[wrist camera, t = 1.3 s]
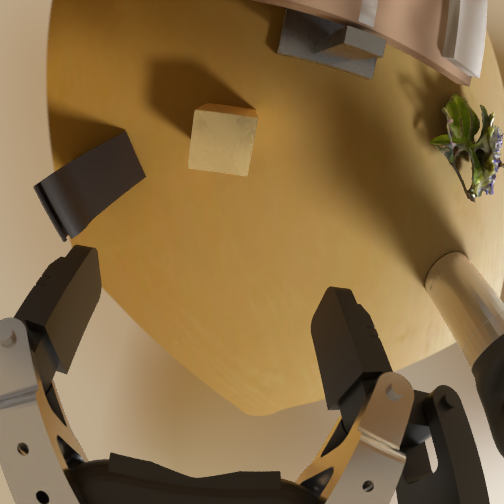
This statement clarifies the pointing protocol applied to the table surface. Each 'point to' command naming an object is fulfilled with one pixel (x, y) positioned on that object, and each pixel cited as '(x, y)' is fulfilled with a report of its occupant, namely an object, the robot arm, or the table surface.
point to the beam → (414, 28)
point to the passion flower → (481, 152)
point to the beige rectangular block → (222, 138)
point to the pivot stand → (329, 43)
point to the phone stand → (89, 185)
